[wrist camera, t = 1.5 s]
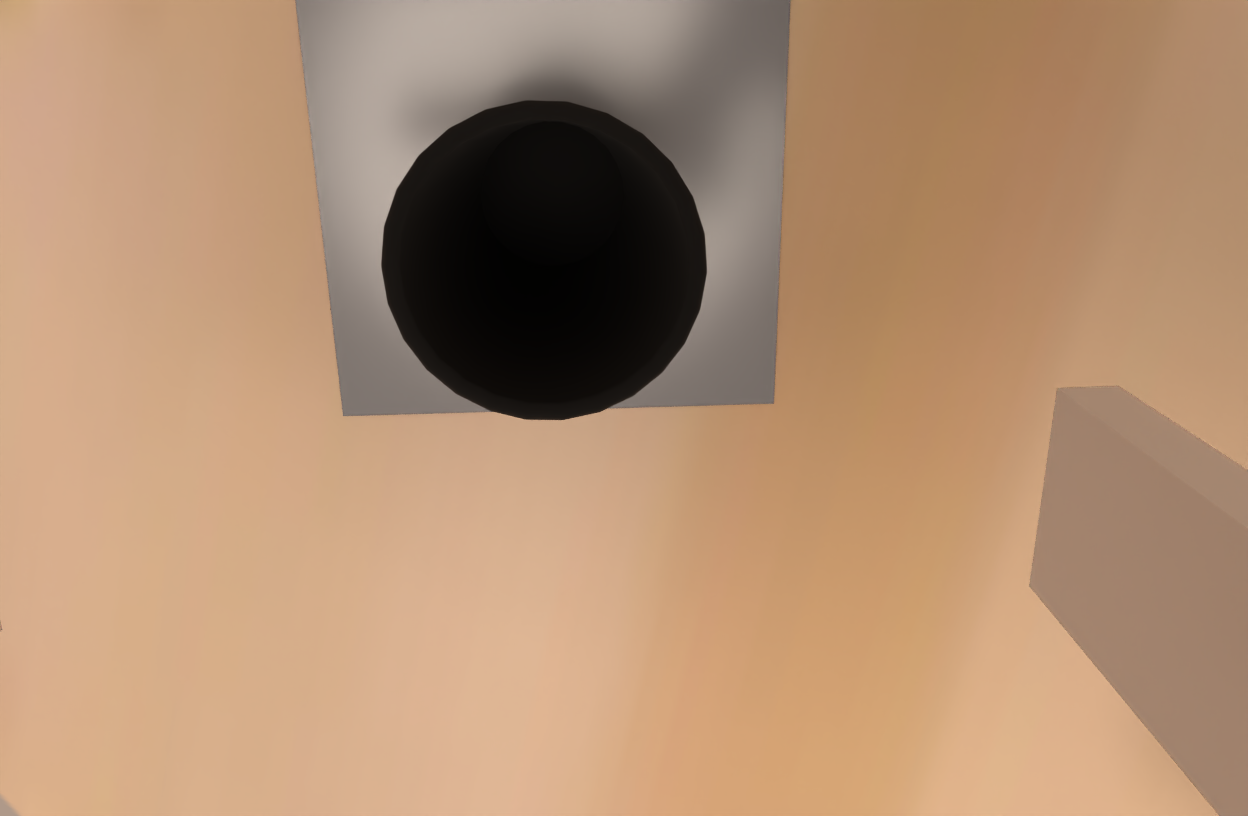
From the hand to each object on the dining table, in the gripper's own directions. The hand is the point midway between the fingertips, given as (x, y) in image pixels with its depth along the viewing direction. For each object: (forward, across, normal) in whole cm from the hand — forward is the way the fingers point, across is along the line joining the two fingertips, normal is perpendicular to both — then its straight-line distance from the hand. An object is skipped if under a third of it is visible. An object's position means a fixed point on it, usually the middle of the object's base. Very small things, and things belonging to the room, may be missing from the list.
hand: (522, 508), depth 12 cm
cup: (+25, 0, 0) cm, 25 cm away
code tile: (+25, 0, 0) cm, 25 cm away
